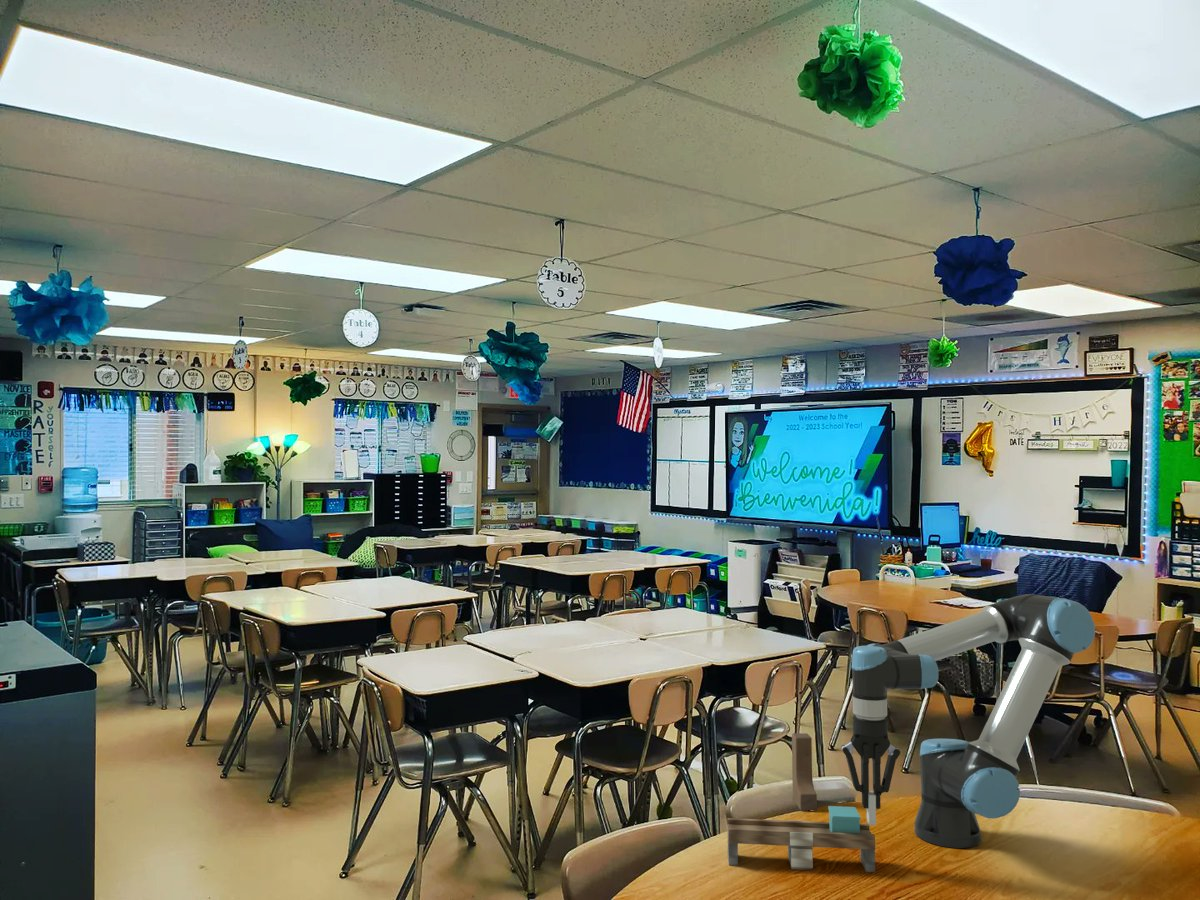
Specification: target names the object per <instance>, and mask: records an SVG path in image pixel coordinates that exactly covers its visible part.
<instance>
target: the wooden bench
mask: <svg viewBox="0 0 1200 900" xmlns="http://www.w3.org/2000/svg"><path fill="white" fill-rule="evenodd" d="M726 823H727V859H728V865H729V866H736V867H737V866H739V856H738V855H739V850H738V849H739V844H740V845H741V844H743V845H760V846H761V845H764V846H785V847H787V856H788V857H787V858H788V861H789V864H790V869H791V870H804V871H805V870H806V871H812V869H814V867H813V865H814V863H813V861H814V860H813V859H814V858H813V857H814V855H813V848H827V849H829V848H830V849H831V848H833V849H848V850H849V849H850V850H851V849H853V850H860V851H859V852H860V862H861V864H862V867H863V869H864V871H865V872H867V873H868V872H869V873H876V835H875V833H872V832H871V830H870V825H869V824H868V823H860V833H839V832H831V831H830V829H829V822H827V821H809V820H794V819H793V820H789V819H787V820H784V819H783V820H782V819H760V818H759V819H756V818H739V817H737V818H736V817H735V818H734V817H732V818H731V817H727V822H726Z"/></svg>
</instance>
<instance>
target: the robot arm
mask: <svg viewBox="0 0 1200 900" xmlns="http://www.w3.org/2000/svg"><path fill="white" fill-rule="evenodd" d="M1095 635H1096V625H1095V621H1094V620H1093V615H1092V614H1091V612H1090V611H1089V610H1088V609H1087V607H1086V606H1084V604H1081V603H1080V602H1078V601H1074V600H1071V599H1068V598H1065V597H1053V596H1048V595H1047V596H1046V595H1040V594H1037V593H1035V594H1033V593H1026V594H1022V595H1016V596H1013V597H1010V598H1007V599H1003V600H1000V601H997V602H995V603H992V604H989V605H985V606H983V608H981V611H980V612H978V613H974V614H972V615H969V616H965V617H964V618H960V619H956V620H954V621H951V622H948V623H946V624H942V625H939V626H936V627H933V628H930V629H928V630H924V631H922V632H918V633H915V634H912V635H909V636H906V637H903V638H901V639H898V640H894V641H891V642H888V643H884V644H881V643H870V644H867V645H858V646H856V647H854V648H853V650H852V656H851V659H852V660H851V671H852V672H851V674H852V675H851V679H852V680H851V681H852V713H853V714H854V715H853V716H852V736H851V737H850V742H848V743H847V744H842V745H840V749H841V751H842V752H843V754H844V755H845V759H846V763H847V766H848V770H849V775H850V778H851V779H850V780H851V781H852V785H853V788H854V790H855V791H857V792H860V793H861V806H862V807H863V809H866V821H867V824H869V826H877V812H876V811H877V810H880V809H881V796H882V794H883V793H889V791H890V787H891V783H892V779H893V778H892V777H893V774H894V771H895V770H894V769H895V765H896V761H897V759H898V758H899V756H900V755H901V751H900V749H899V748H898V747H897V746H894V745H892V744H891V741H890V739H889V737H888V736H889V735H888V733H889V732H888V731H889V730H888V726H889V725H888V719H887V716H888V690H912V689H914V690H915V689H918V690H922V689H931V688H933V687H935V686H936V685H937V683H938V681H939V667H938V664H937V662H938V661H940V660H943V659H945V658H949V657H952V656H955V655H957V654H961V653H964V652H967V651H969V650H973V649H976V648H978V647H981V646H985V645H987V644H990V643H993V642H996V643H998V644H1003V643H1004V644H1005V643H1007V642H1011V641H1018V642H1019V645H1020V647H1021V650H1020V653H1019V654H1018V656H1017V658H1016V661H1015V663H1014V664H1013V667H1012V669H1011V670H1010V673H1009V675H1008V677H1007V679H1006V681H1005V684H1004V686H1003V687H1002V689H1001V692H1000V694H999V695H998V698H997V700H996V702H995V705H994V706H993V709H992V711H991V713H990V714H989V717H988V719H987V721H986V723H985V724H984V727H983V729H982V731H981V733H980V736H979V738H977V740H973V741H967V740H963V739H956V738H931V739H930V738H929V739H925V740H923V741H922V742H921V743H920V750H919V759H920V790H921V791H920V793H921V800H920V804H919V807H918V811H917V814H916V817H915V819H914V834H915V836H916V837H918V838H919V839H921V840H923V841H925V842H927V843H930V844H932V845H937V846H940V847H945V848H946V847H947V848H953V849H954V848H956V849H966V848H973V847H977V846H979V845H980V844H981V843H982V831H981V830H982V829H981V828H980V825H979V822H978V821H979V820H978V818H977V816H976V815H979V816H980V817H984V818H987V819H998V818H1002V817H1003V818H1004V817H1005V816H1007V815H1008V814H1010V813H1011V812H1012V811H1013V810H1014V809H1015V807H1016V806H1017V804H1018V802H1019V800H1020V796H1021V790H1020V788H1019V787H1020V783H1019V781H1018V780H1017V778H1018V777H1017V776H1018V775H1019V772H1020V767H1019V765H1018V762H1017V759H1018V756H1019V755H1020V752H1021V750H1022V749H1023V746H1024V744H1025V741H1026V739H1027V738H1028V736H1029V733H1030V730H1031V729H1032V727H1033V724H1034V722H1035V720H1036V718H1037V717H1038V714H1039V711H1040V709H1041V708H1042V705H1043V703H1044V701H1045V700H1046V697H1047V694H1048V693H1049V690H1050V689H1051V686H1052V684H1053V682H1054V680H1055V677H1056V676H1057V674H1058V671H1059V669H1060V667H1064V666H1066V665H1067V666H1068V665H1069V664H1070V663H1071V661H1072V659H1073V658H1074V656H1075V653H1076V654H1077V653H1079V652H1083V651H1085V650H1087V649H1089V647H1091V645H1092V644H1093V642H1094V640H1095ZM853 749H855V751H856V752H857V753H858V755H859V756H860V778H861V779H860V781H861V783H860V781H859V776H858V772H857V768H856V764H855V761H854V757H853V755H852V754H853V753H854V750H853ZM886 752H887V754H888V755H887V757H886V758H887V759H886V763H885V767H884V772H883V775H881V765H882V760H881V759H882V757H883V756H884V755H885V754H886ZM870 759H872V790H873V791H872V790H871V791H870V786H869V785H870V784H869V783H870V779H869V778H870V775H869V772H870V771H869V769H870V768H869V767H870ZM881 776H882V777H881ZM881 778H882V780H881Z"/></svg>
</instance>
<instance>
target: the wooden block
mask: <svg viewBox="0 0 1200 900" xmlns="http://www.w3.org/2000/svg"><path fill="white" fill-rule="evenodd" d="M812 740H813V738H812V737H811V735H809V734H808V733H807V732H806V733H805V732H804V733H803V732H802V733H795V732H794V733H792V734H791V752H792V753H791V755H792V756H791V760H792V761H791V764H792V765H791V766H792V767H791V768H792V769H791V771H792V774H791V775H792V778H791V779H792V783H791V784H792V800H793V802H794V803H795V805H796V806H797V807H798V809H799V810H800V812H809V811H808V810H815V811H814V812H817V811H818V805H817V804H818V800H817V799H818V798H817V797H818V795H817V793H816V790H815V787H814V782H813V781H814V780H813V749H812V748H813V746H812V743H813V742H812Z"/></svg>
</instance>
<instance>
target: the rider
mask: <svg viewBox="0 0 1200 900" xmlns="http://www.w3.org/2000/svg"><path fill="white" fill-rule="evenodd" d="M827 808H828V815H829V818H828V819H829V820H828V821H829V829H830V831H831V832H839V833H860V824H861V822H860V821H861V820H862V819H861V818H862V817H861V815H860V814H859V812H858V810H857V808H856V807H855V806H834V805H828V806H827Z"/></svg>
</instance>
